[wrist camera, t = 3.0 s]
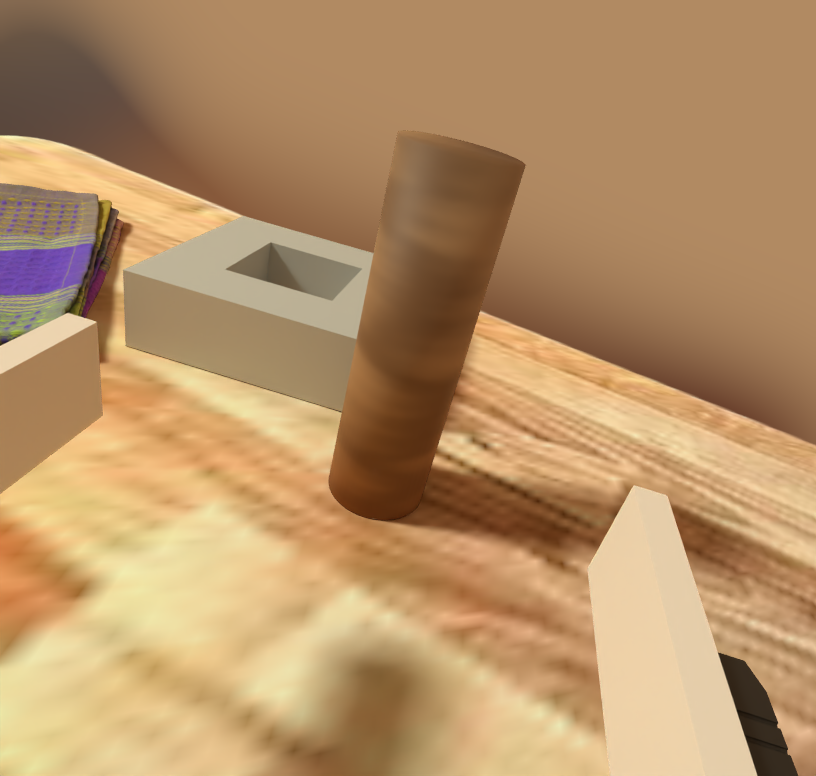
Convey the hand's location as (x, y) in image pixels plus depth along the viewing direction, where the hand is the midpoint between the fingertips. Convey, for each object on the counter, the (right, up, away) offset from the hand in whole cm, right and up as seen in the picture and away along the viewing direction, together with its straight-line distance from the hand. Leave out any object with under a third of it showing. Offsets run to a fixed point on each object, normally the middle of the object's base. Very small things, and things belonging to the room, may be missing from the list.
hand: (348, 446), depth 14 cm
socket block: (-6, +5, +24) cm, 25 cm away
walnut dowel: (0, -3, +13) cm, 13 cm away
